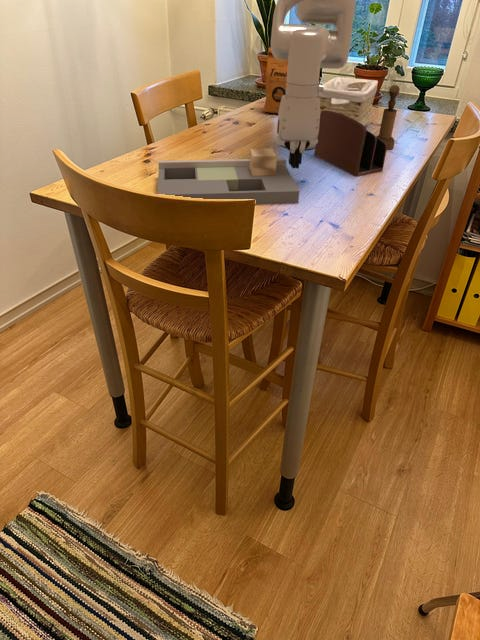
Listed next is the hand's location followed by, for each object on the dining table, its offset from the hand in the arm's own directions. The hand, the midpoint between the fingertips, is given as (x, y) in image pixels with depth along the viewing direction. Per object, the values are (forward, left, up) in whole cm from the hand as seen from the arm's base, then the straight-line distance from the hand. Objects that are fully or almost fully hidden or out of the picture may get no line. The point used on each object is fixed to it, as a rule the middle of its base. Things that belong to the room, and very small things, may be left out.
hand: (294, 166), depth 122 cm
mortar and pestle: (-36, -28, -4) cm, 45 cm away
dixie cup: (-36, -68, -4) cm, 77 cm away
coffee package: (-10, -71, -4) cm, 72 cm away
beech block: (+8, 0, -1) cm, 9 cm away
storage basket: (-28, -49, -4) cm, 56 cm away
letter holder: (-19, -14, -5) cm, 24 cm away
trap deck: (+18, +4, -4) cm, 19 cm away
